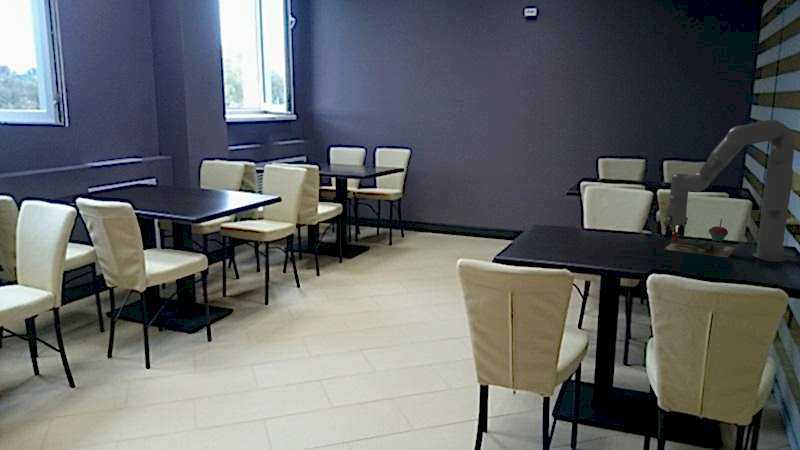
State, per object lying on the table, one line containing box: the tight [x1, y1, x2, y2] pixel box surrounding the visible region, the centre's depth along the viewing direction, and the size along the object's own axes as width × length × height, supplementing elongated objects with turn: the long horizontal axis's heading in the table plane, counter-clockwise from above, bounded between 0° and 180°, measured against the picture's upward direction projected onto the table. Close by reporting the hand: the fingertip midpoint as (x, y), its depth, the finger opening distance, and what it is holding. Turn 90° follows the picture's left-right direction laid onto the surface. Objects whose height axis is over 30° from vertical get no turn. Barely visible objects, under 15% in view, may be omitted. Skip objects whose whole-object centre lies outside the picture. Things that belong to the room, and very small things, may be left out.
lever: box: [670, 231, 725, 250], centre depth 277 cm, size 22×5×6 cm, turn 55°
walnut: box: [701, 242, 711, 252], centre depth 269 cm, size 4×4×4 cm
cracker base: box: [664, 238, 736, 258], centre depth 277 cm, size 26×24×3 cm
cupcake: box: [708, 218, 729, 243], centre depth 298 cm, size 9×8×12 cm
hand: (674, 236), depth 282 cm, fingers open, 9 cm apart
